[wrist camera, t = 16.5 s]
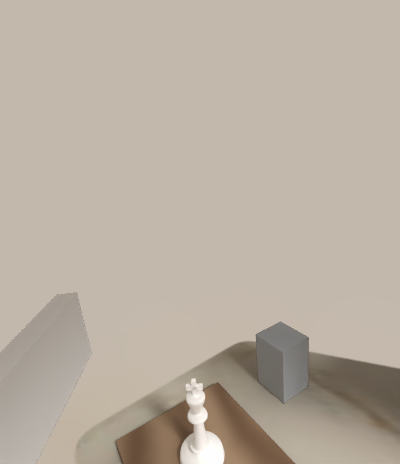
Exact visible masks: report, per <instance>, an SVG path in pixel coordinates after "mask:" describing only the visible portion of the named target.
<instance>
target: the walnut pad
mask: <svg viewBox="0 0 400 464" xmlns="http://www.w3.org/2000/svg"><path fill="white" fill-rule="evenodd" d="M203 392H204V394H205V401H204V403H203V407H204V408H205V409H206V411H207V413H208V416H207V419H206V421H205V422H203V423H204V427H205V431H209V432H212V433H214V434H215V435H216V436H217V437H218V438H219V439H220V440H221V442H222V445H223V449H224V455H225V456H224V462H223V464H295V463H294V462H293V461H292V460H291V459H290V458H289V457H288V456H287V454H286V453H285V452H284V451H283V450H282V449H281V448H280V447H279V446H278V445H277V444H276V443H275V442H274V441H273V440H272V439H271V438H270V437H269V436H268V435H267V433H266V432H265V431H264V430H263V429H262V428H261V427H260V426H259V425H258V424H257V423H256V422H255V421H254V420H253V419H252V418H251V417H250V416H249V415H248V413H247V412H246V411H245V410H244V409H243V408H242V407H241V406H240V405H239V404H238V403H237V402H236V401H235V400H234V399H233V398H232V397H231V396H230V395H229V394H228V392H227V391H226V390H225V389H224V388H223V387H222V386H221V385H220V384H219V383H218V382H217V383H216V384H214V385H212V386H210V387H209V388H207V389H205V390H203ZM189 410H190V406H189V405H188V403H187V401H184V402H183V403H181V404H179V405H177V406H176V407H174V408H172V409H170V410H169V411H167V412H165V413H163V414H162V415H160V416H158V417H156V418H155V419H153V420H151V421H150V422H148V423H146V424H144V425H143V426H141V427H139V428H137V429H136V430H134V431H132V432H130V433H129V434H127V435H125V436H123V437H122V438H120V439H118V440H116V444H117V448H118V451H119V454H120V456H121V459H122V462H123V464H181V463H180V450H181V446H182V444H183V442H184V440H185V439H186V438H187V437H188V436H189V435H191V434H192V433H193V432H194V424H192V423H190V422H189V420H188V412H189Z"/></svg>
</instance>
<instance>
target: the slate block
mask: <svg viewBox="0 0 400 464" xmlns="http://www.w3.org/2000/svg"><path fill="white" fill-rule="evenodd" d="M308 348H309V338H308V337H307V336H305V335H303V334H302V333H300V332H298V331H296V330H294V329H293V328H291V327H289V326H287V325H286V324H284V323H282V322H279V323H277V324H275V325H273V326H271V327H269V328H267V329H266V330H263V331H261V332H259V333H257V334H256V349H257V371H258V382H260V383H261V384H262V385H263V386H264V387H265V388H266V389H268V390H269V391H270V392H271V393H272V394H273V395H275V396H276V397H277V398H278V399H279V400H280V401H281V402H283V403H286V402H287V401H288V400H290V399H291V398H292V397H294V396H295V395H297V394H298V393H299V392H301V391H302V390H304V389H305V388H306V387H308V355H309V349H308Z"/></svg>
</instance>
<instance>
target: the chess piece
mask: <svg viewBox="0 0 400 464" xmlns="http://www.w3.org/2000/svg"><path fill="white" fill-rule="evenodd" d="M202 390H203V384H202V383H197V384H196V378H195V379H191V384H186V391H189V392H188V393H187V395H186V401H187V403H188V405H189V406H190V410H189V412H188V420H189V422H190V423H192V424H194V432H193V433H192V434H191V435H189V436H188V437H187V438H186V439H185V440H184V442H183V444H182V446H181V450H180V463H181V464H223V462H224V456H225V455H224V449H223V445H222V442H221V440H220V439H219V438H218V437H217V436H216V435H215V434H214V433H212V432H209V431H205V427H204V423H203V422H205V421H206V419H207V416H208V413H207V411H206V409H205V408H204V407H203V403H204V401H205V394H204V392H203V391H202Z"/></svg>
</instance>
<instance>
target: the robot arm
mask: <svg viewBox="0 0 400 464" xmlns="http://www.w3.org/2000/svg"><path fill="white" fill-rule="evenodd" d="M91 354H92V352H91V349H90V344H89V340H88V336H87V332H86V328H85V324H84V320H83V316H82V312H81V308H80V303H79V299H78V295H77V293H67V294H58V295H56V296H55V297H54V298H53V299H52V300H51V301H50V302H49V303H48V304H47V305H46V306H45V307H44V308H43V309H42V310H41V312H39V313H38V314H37V316H36V317H35V318H34V319H33V320H32V321H31V322H30V323H29V324H28V325H27V326H26V327H25V328H24V329H23V330H22V331H21V332H20V333H19V334H18V335H17V336H16V337H15V338H14V339H13V340H12V341H11V342H10V343H9V344H8V345H7V346H6V347H5V348H4V349H3V350H2V351H1V352H0V464H36V462H37V460H38V458H39V457H40V455H41V453H42V451H43V449H44V447H45V445H46V443H47V441H48V439H49V437H50V435H51V433H52V431H53V429H54V427H55V425H56V423H57V421H58V419H59V417H60V415H61V413H62V411H63V409H64V407H65V406H66V404H67V401H68V400H69V398H70V396H71V394H72V392H73V389H74V388H75V386H76V384H77V382H78V380H79V378H80V376H81V374H82V372H83V370H84V368H85V366H86V364H87V362H88V360H89V358H90V356H91Z"/></svg>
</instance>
